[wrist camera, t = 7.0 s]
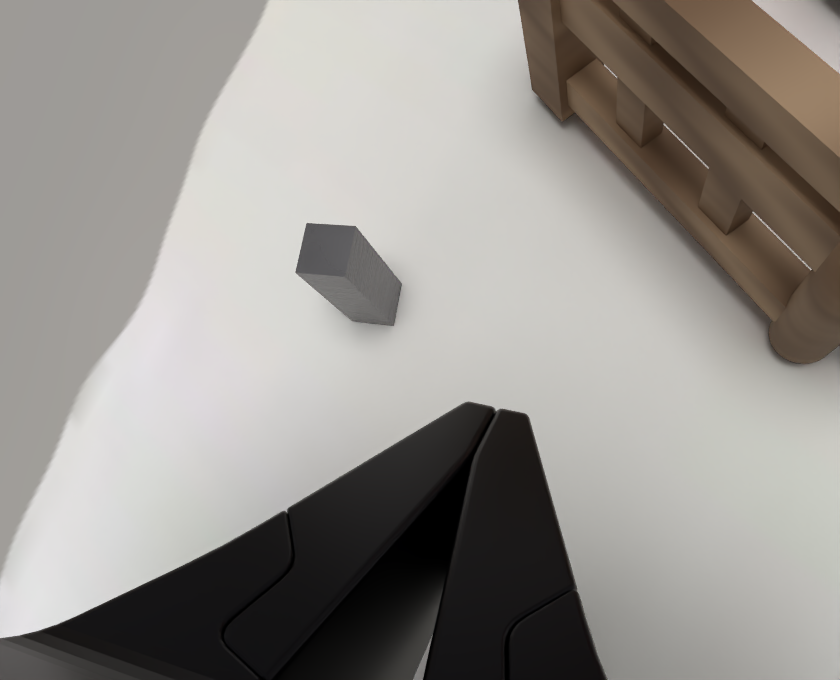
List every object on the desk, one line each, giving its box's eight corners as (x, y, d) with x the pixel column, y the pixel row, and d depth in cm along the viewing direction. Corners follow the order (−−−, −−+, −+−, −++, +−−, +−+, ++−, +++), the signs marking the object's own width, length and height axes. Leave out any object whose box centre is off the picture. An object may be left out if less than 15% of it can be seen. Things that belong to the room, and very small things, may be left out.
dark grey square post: (902, 379, 20) (1112, 269, 12) (352, 321, 25) (227, 214, 17) (903, 325, 21) (1107, 183, 12) (361, 278, 26) (242, 154, 17)
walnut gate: (849, 339, 20) (1020, 203, 12) (798, 375, 21) (934, 264, 12) (572, 59, 25) (557, -179, 17) (532, 89, 25) (496, -133, 17)
